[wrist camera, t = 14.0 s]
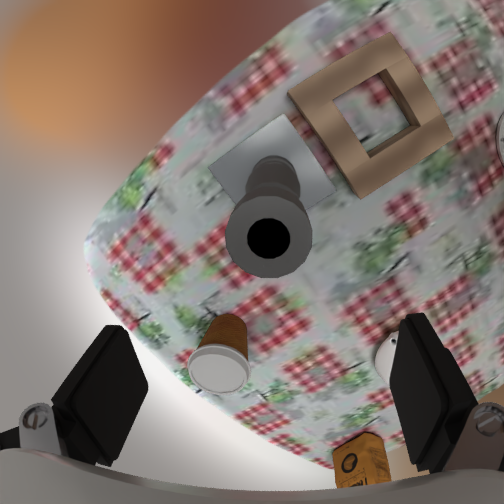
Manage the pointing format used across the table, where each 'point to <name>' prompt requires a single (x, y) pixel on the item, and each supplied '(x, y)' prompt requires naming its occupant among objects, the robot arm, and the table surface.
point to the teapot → (386, 356)
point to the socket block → (340, 133)
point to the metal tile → (265, 144)
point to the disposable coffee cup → (221, 357)
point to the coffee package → (361, 462)
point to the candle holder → (270, 222)
